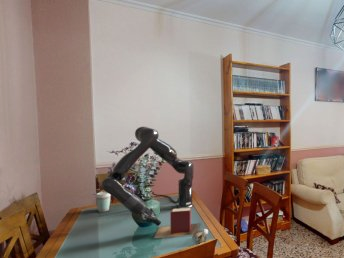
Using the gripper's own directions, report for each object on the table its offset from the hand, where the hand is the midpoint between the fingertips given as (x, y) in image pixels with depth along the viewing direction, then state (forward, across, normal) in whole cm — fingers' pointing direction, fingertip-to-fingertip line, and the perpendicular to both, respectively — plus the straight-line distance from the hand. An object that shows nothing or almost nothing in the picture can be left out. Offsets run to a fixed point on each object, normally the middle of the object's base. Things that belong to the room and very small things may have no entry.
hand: (159, 224), depth 141 cm
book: (+11, 0, -4) cm, 12 cm away
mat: (+10, 0, -3) cm, 11 cm away
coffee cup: (-27, +45, +35) cm, 63 cm away
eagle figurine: (+20, -15, -12) cm, 27 cm away
